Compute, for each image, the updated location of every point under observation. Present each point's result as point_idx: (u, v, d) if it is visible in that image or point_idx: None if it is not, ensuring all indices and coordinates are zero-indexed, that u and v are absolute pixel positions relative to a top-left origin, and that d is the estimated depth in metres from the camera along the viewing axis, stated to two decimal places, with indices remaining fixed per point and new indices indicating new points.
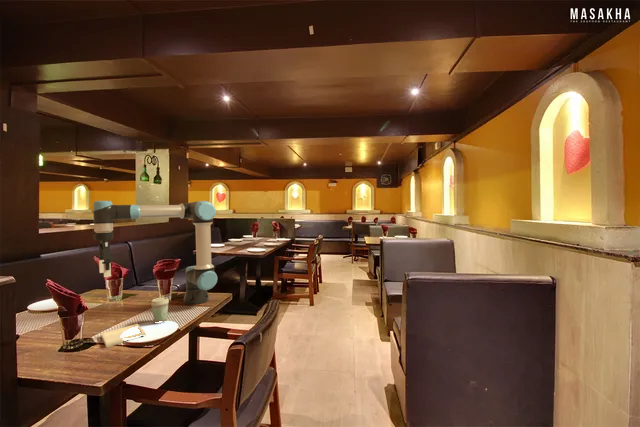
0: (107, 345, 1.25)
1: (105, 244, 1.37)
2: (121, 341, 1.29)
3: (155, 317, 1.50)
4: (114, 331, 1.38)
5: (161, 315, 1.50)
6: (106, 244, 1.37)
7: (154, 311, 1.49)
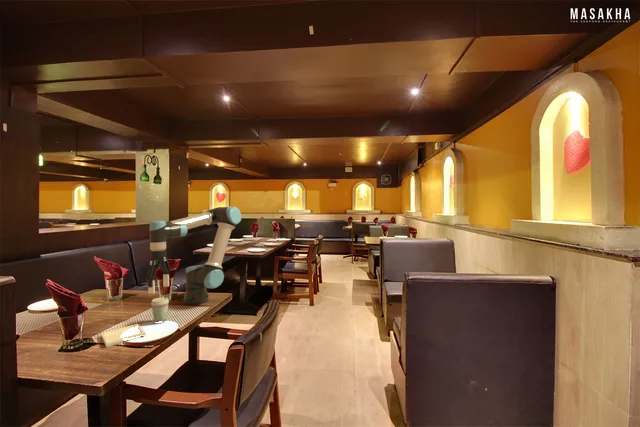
0: (107, 345, 1.25)
1: (150, 262, 1.46)
2: (121, 341, 1.29)
3: (155, 317, 1.50)
4: (114, 331, 1.38)
5: (161, 315, 1.50)
6: (150, 262, 1.46)
7: (154, 311, 1.49)
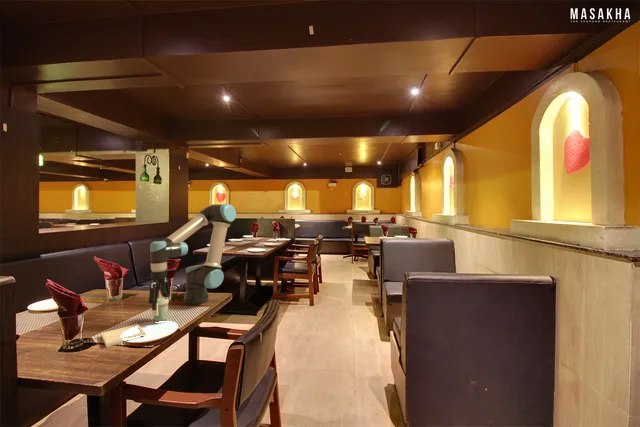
0: (107, 345, 1.25)
1: (151, 286, 1.46)
2: (121, 341, 1.29)
3: (155, 317, 1.50)
4: (114, 331, 1.38)
5: (161, 315, 1.50)
6: (152, 286, 1.46)
7: None
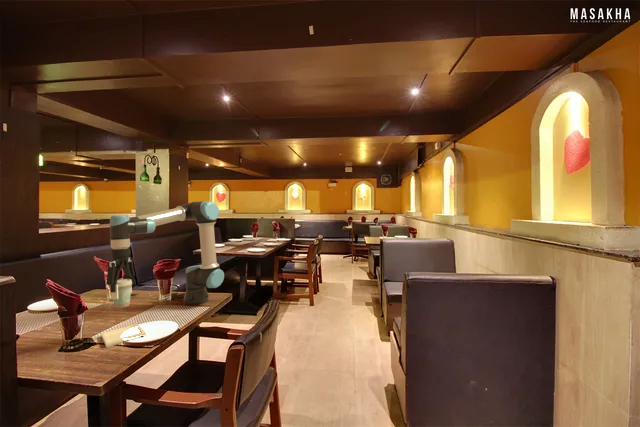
0: (107, 345, 1.25)
1: (109, 264, 1.28)
2: (121, 341, 1.29)
3: (115, 300, 1.32)
4: (114, 331, 1.38)
5: (122, 299, 1.32)
6: (110, 264, 1.28)
7: None
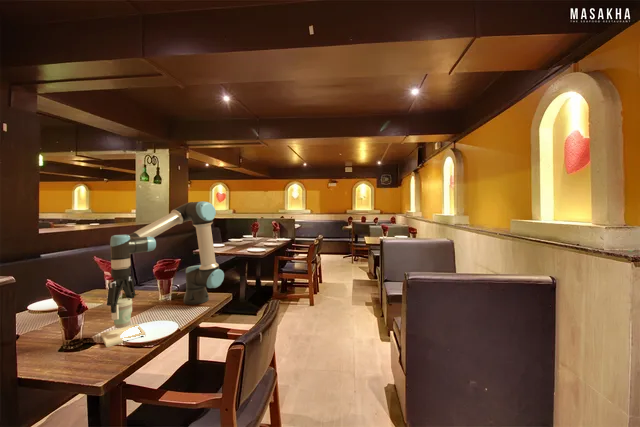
0: (107, 345, 1.25)
1: (110, 285, 1.28)
2: (121, 341, 1.29)
3: (115, 321, 1.32)
4: (114, 331, 1.38)
5: (122, 319, 1.32)
6: (110, 285, 1.28)
7: None
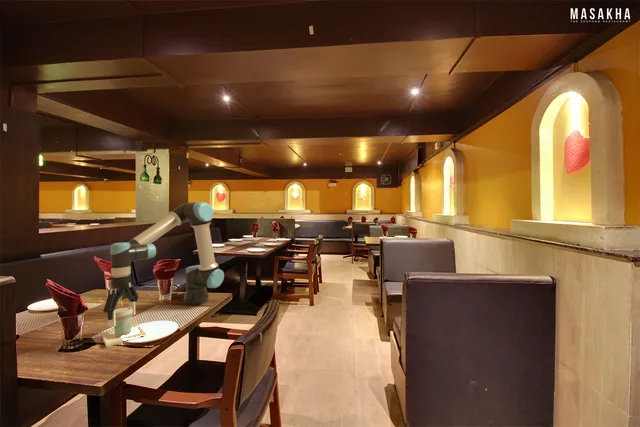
0: (107, 345, 1.25)
1: (110, 291, 1.28)
2: (121, 341, 1.29)
3: (116, 330, 1.32)
4: (114, 331, 1.38)
5: (122, 328, 1.32)
6: (110, 291, 1.28)
7: None
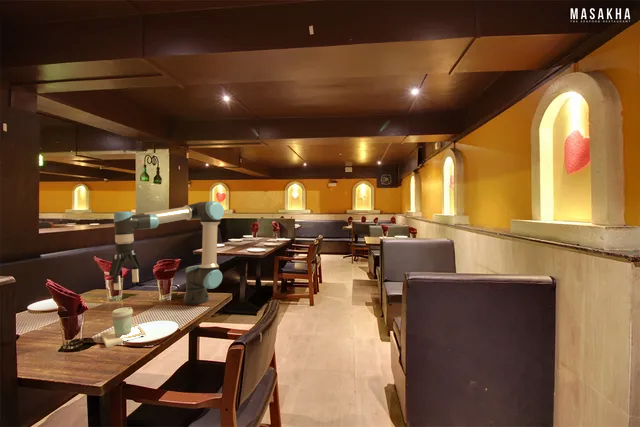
0: (107, 345, 1.25)
1: (114, 256, 1.34)
2: (121, 341, 1.29)
3: (116, 330, 1.32)
4: (114, 331, 1.38)
5: (122, 328, 1.32)
6: (115, 256, 1.34)
7: (115, 323, 1.32)
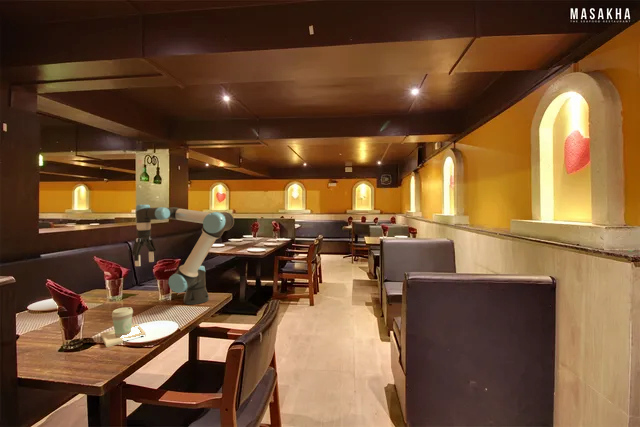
0: (107, 345, 1.25)
1: (136, 240, 1.70)
2: (121, 341, 1.29)
3: (116, 330, 1.32)
4: (114, 331, 1.38)
5: (122, 328, 1.32)
6: (136, 240, 1.70)
7: (115, 323, 1.32)
